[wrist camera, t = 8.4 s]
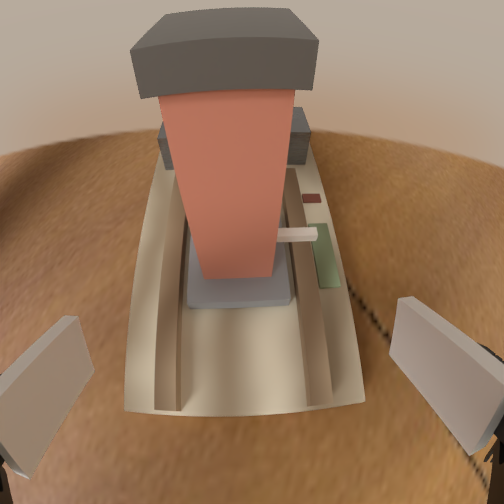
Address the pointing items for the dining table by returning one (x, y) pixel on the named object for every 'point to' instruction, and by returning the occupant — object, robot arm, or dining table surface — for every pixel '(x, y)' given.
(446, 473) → the dining table surface
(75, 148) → the dining table surface
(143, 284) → the cream base plate
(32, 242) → the dining table surface
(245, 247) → the handle
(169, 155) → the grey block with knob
